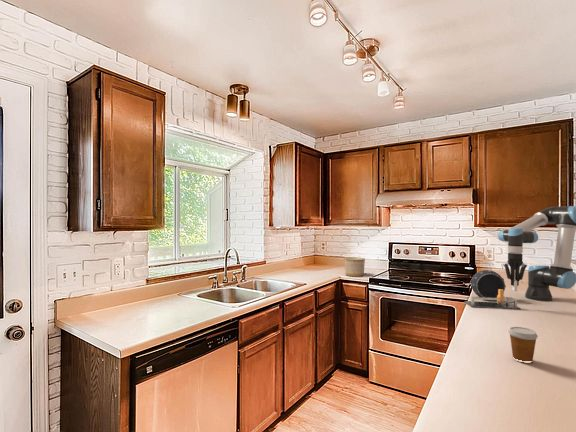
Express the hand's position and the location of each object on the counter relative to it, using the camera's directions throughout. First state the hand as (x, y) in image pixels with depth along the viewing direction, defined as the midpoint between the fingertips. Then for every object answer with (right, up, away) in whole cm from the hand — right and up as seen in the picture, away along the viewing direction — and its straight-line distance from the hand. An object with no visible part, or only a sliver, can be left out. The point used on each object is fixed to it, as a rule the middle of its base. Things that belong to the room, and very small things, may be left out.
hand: (514, 290), depth 207 cm
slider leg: (-8, -10, +2) cm, 12 cm away
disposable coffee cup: (-48, -11, -75) cm, 89 cm away
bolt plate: (-11, -11, +5) cm, 16 cm away
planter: (-77, -10, +111) cm, 136 cm away
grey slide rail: (-11, -11, +3) cm, 16 cm away
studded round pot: (-4, -11, +22) cm, 25 cm away
